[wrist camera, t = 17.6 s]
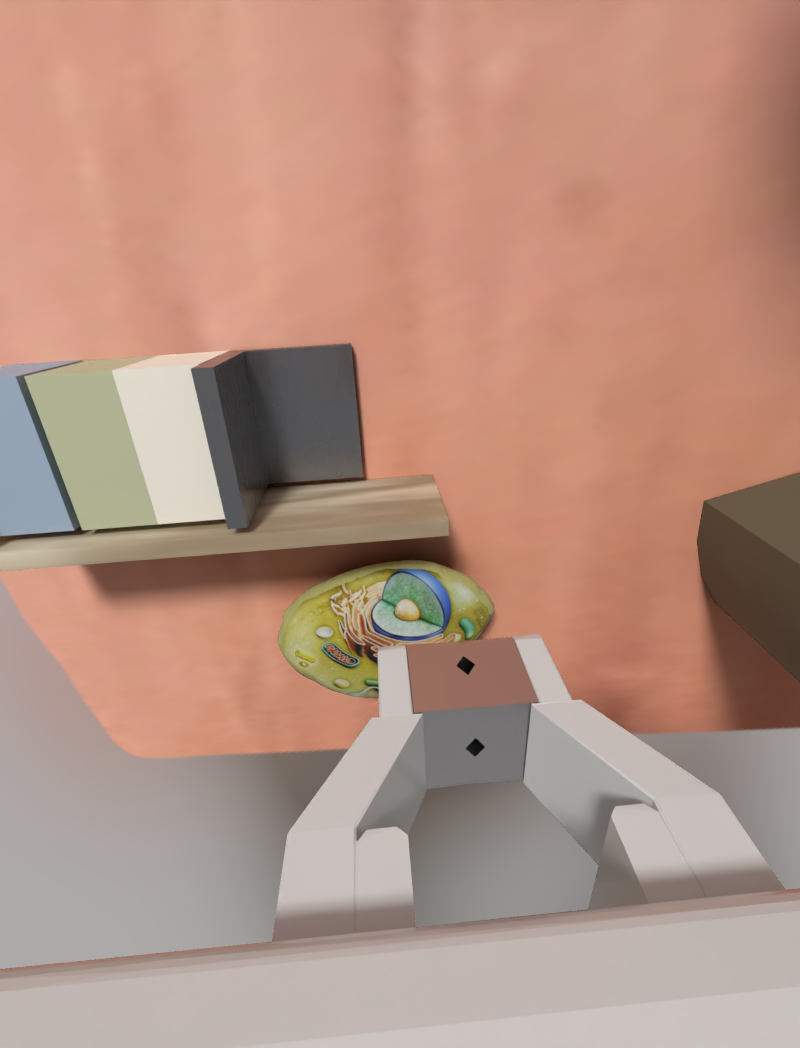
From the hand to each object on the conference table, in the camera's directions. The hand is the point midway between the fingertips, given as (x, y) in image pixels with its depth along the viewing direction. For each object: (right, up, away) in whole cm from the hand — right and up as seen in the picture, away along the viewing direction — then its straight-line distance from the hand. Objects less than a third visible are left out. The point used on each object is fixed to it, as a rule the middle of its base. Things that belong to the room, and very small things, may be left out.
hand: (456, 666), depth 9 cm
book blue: (-21, +8, +20) cm, 31 cm away
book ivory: (-13, +9, +21) cm, 26 cm away
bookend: (-7, +9, +21) cm, 24 cm away
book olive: (-17, +9, +21) cm, 28 cm away
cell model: (-2, -4, +28) cm, 28 cm away
